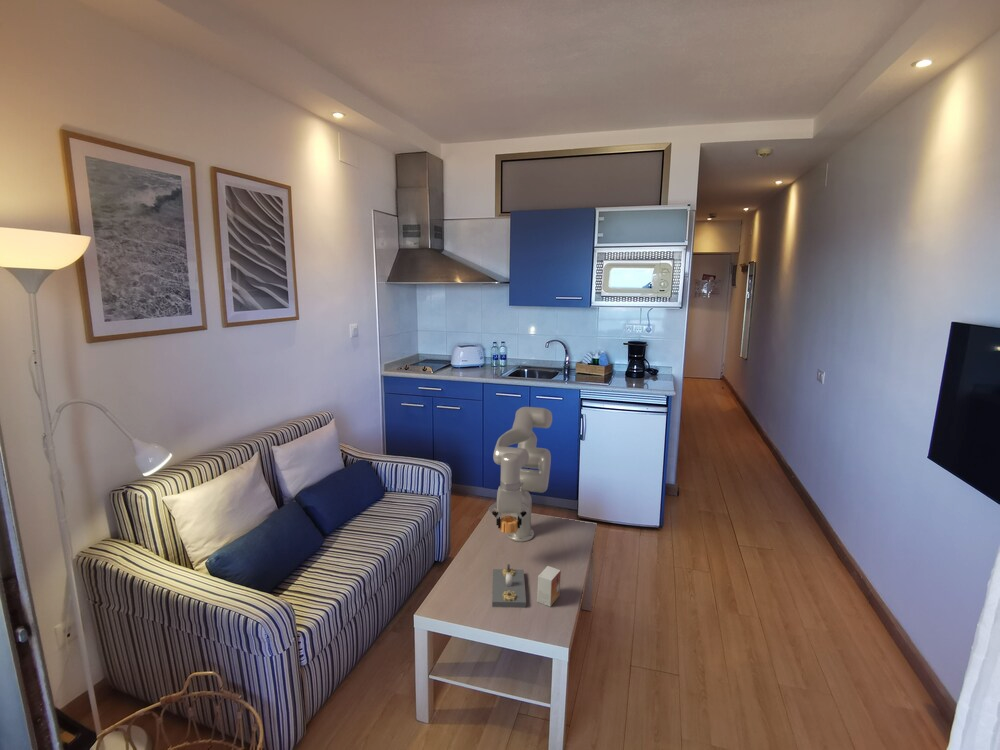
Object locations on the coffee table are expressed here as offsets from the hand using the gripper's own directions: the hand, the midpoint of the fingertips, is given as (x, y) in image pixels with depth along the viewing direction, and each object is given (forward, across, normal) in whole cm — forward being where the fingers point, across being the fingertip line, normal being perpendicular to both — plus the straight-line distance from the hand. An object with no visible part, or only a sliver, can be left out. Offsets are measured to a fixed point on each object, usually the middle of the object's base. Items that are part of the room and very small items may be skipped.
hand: (508, 526), depth 195 cm
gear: (+1, 0, 0) cm, 1 cm away
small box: (+18, -14, +20) cm, 30 cm away
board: (+18, 0, +15) cm, 23 cm away
